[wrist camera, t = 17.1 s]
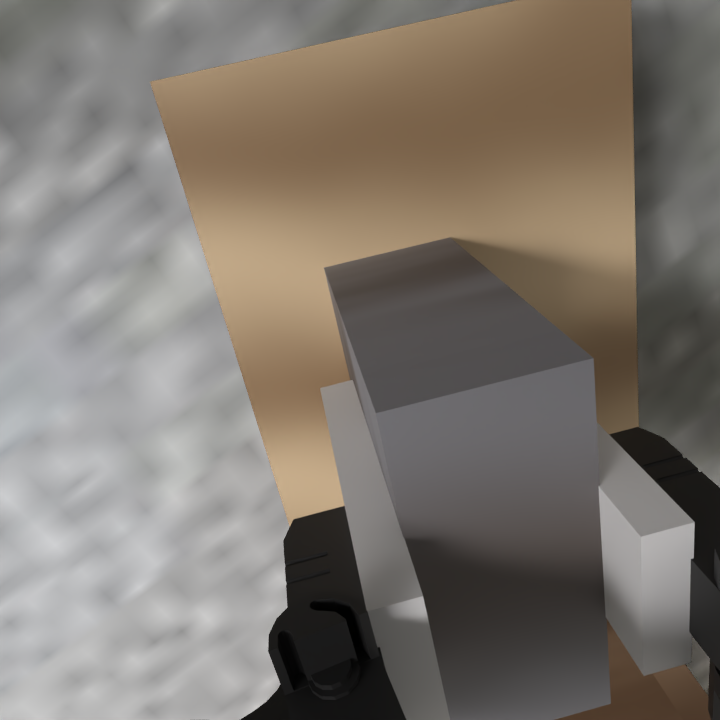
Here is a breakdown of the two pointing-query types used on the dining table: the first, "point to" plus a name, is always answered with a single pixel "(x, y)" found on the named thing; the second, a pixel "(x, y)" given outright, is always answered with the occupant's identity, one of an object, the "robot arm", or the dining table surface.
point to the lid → (442, 306)
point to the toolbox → (647, 691)
